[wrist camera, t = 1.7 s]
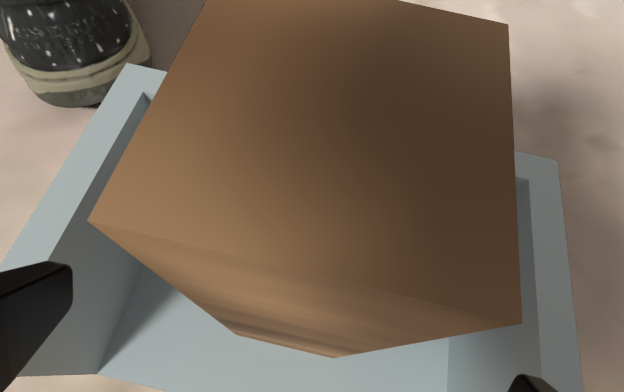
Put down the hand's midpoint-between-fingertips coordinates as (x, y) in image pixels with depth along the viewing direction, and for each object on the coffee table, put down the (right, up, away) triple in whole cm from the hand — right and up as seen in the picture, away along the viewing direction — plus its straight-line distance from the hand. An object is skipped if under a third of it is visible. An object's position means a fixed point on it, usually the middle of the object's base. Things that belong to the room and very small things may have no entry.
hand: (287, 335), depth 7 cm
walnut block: (0, -2, +10) cm, 10 cm away
